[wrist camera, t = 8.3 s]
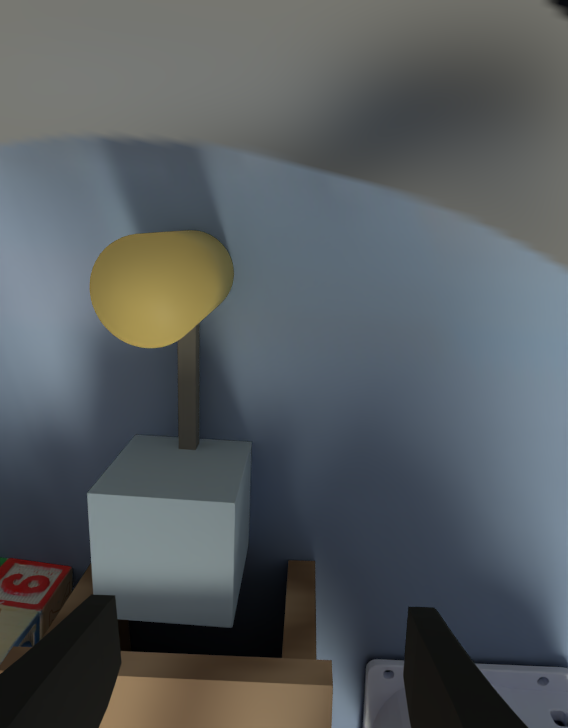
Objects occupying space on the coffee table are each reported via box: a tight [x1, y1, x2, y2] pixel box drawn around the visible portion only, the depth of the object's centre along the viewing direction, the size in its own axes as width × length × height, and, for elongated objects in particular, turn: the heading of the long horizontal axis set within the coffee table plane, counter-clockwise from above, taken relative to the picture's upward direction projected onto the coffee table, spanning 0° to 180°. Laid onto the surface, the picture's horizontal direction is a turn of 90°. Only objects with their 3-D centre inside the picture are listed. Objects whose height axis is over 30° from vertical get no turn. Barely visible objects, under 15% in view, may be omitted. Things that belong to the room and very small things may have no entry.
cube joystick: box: [87, 230, 252, 628], centre depth 19 cm, size 5×14×6 cm, turn 177°
